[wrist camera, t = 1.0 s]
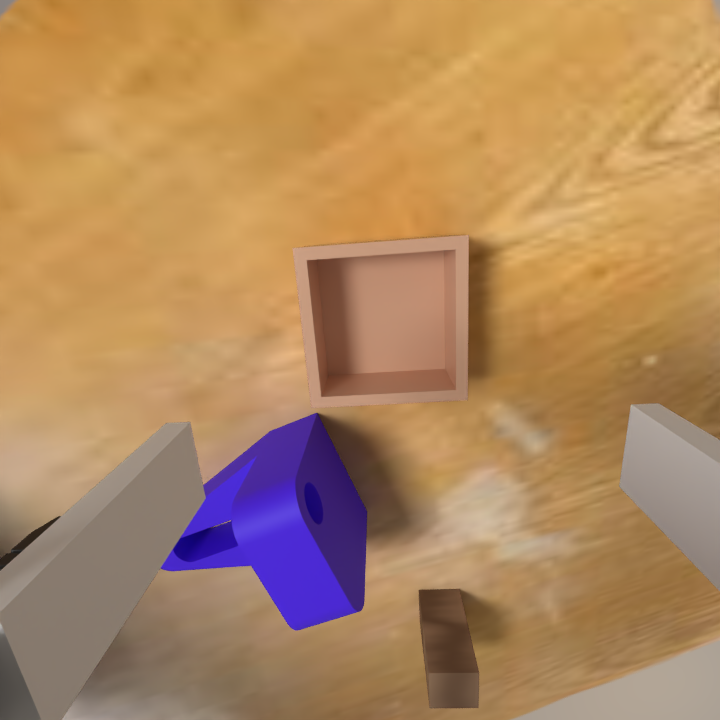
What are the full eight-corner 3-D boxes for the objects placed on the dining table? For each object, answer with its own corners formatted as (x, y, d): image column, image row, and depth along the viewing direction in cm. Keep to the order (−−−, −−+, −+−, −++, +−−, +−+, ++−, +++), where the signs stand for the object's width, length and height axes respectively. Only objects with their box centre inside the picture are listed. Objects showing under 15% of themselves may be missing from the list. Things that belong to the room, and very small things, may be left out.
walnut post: (419, 620, 41) (429, 708, 34) (418, 590, 40) (428, 673, 33) (459, 620, 41) (478, 707, 33) (459, 589, 40) (479, 672, 32)
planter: (321, 381, 34) (311, 408, 29) (306, 246, 31) (292, 248, 26) (453, 374, 33) (467, 400, 28) (452, 235, 30) (468, 235, 25)
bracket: (317, 412, 35) (289, 495, 24) (367, 510, 38) (363, 627, 27) (143, 480, 38) (45, 584, 27) (202, 567, 41) (135, 695, 29)
